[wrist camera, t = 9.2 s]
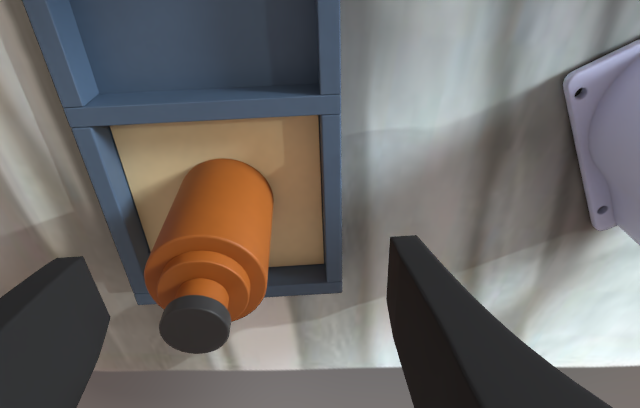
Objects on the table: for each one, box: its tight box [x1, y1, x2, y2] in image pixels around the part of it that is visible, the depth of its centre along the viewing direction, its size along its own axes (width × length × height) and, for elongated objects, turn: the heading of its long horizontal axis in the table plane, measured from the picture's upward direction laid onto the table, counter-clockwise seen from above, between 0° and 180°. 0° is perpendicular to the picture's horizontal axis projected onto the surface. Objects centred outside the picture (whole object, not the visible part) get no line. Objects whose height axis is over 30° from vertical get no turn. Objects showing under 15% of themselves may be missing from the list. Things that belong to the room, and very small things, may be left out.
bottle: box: [144, 158, 274, 354], centre depth 17 cm, size 4×4×8 cm
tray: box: [22, 0, 342, 305], centre depth 17 cm, size 20×11×2 cm, turn 2°
